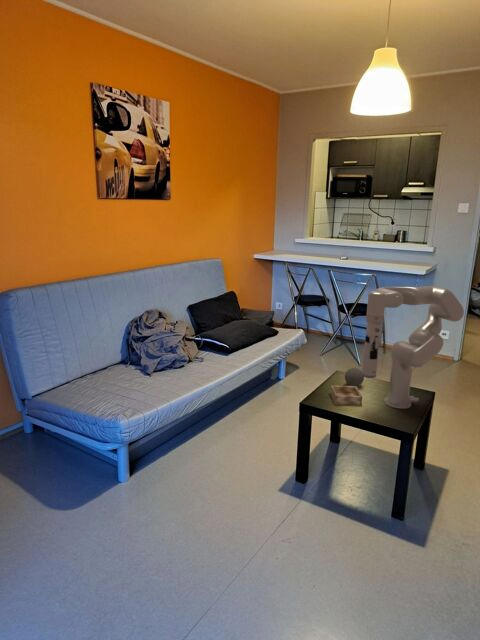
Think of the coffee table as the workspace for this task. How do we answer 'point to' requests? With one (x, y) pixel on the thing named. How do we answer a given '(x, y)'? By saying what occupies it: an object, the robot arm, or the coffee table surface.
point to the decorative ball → (354, 377)
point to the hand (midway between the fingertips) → (371, 356)
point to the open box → (346, 395)
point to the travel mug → (369, 361)
